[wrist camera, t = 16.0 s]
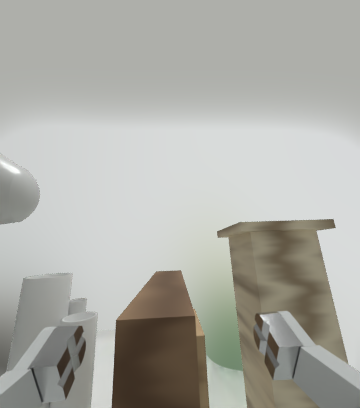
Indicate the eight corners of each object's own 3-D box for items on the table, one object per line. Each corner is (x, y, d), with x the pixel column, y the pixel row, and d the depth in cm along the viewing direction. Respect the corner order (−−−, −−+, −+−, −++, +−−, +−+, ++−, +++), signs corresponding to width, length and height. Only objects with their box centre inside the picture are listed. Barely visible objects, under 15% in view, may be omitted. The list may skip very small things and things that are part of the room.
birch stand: (285, 575, 13) (239, 222, 19) (236, 434, 22) (217, 231, 29) (424, 556, 13) (333, 219, 20) (317, 426, 23) (280, 229, 29)
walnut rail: (111, 422, 8) (116, 320, 9) (156, 298, 27) (156, 271, 28) (200, 415, 8) (195, 315, 9) (181, 297, 27) (180, 270, 28)
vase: (-27, 473, 19) (11, 280, 24) (18, 415, 26) (40, 274, 31) (83, 446, 21) (97, 275, 27) (98, 399, 28) (106, 270, 33)
